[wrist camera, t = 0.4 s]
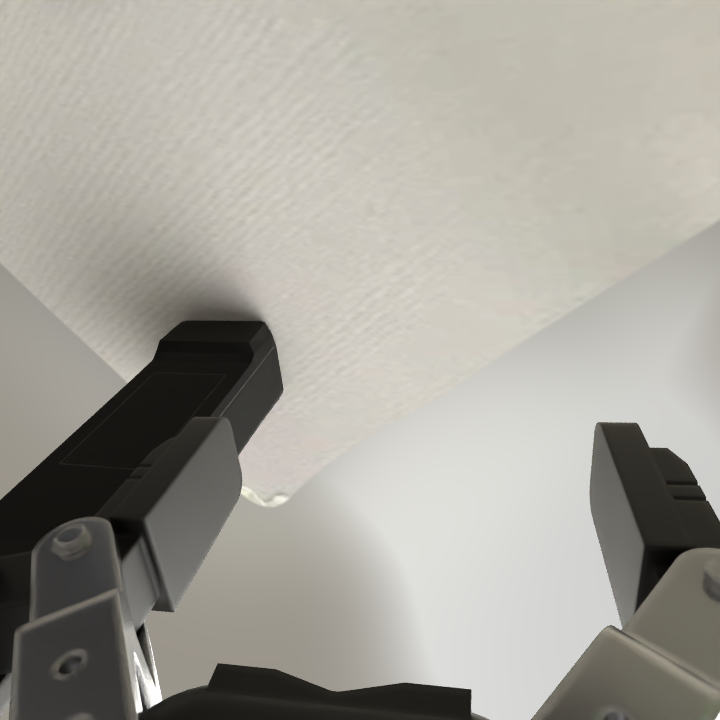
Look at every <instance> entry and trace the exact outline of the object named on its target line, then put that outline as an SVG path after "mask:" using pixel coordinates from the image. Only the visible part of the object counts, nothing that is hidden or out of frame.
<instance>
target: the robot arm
mask: <svg viewBox="0 0 720 720" xmlns="http://www.w3.org/2000/svg"><path fill="white" fill-rule="evenodd" d="M241 487H242V473H241V468H240V463H239V459H238V454H237V450H236V445H235V440H234V436H233V431H232V427H231V424H230V421H229V420H228V419H227V418H226V417H194V418H192V419H191V420H190V421H189V422H188V423H187V425H186V426H185V427H184V428H183V429H182V431H181V432H180V433H179V434H178V435H177V436H176V438H170V439H169V440H167V441H166V442H164V443H162V444H161V445H159V446H158V447H156V448H155V449H153V450H152V451H151V452H150V453H149V454H148V456H147V457H146V458H145V459H144V460H143V461H142V462H141V463H140V467H137V468H136V469H135V470H134V471H133V473H132V474H131V475H130V478H129V479H126V480H125V482H124V483H123V484H122V485H121V486H120V487H119V488H118V490H117V491H116V492H115V493H114V494H113V495H112V496H111V497H110V499H109V500H108V501H107V502H106V503H105V504H104V505H103V506H102V508H101V509H100V510H99V511H98V512H97V513H96V514H95V516H94V517H83V518H78V519H75V520H71V521H69V522H66V523H64V524H62V525H60V526H58V527H56V528H54V529H53V530H51V531H50V532H48V533H47V534H46V535H45V536H43V537H42V538H41V539H40V540H39V542H38V543H37V544H36V546H35V547H34V549H33V551H27V552H22V553H16V554H11V555H5V556H0V716H1V714H2V713H3V711H4V710H5V708H6V707H7V706H8V704H9V703H10V710H9V711H10V712H9V720H489V719H487V718H485V717H482V716H480V715H477V714H475V713H472V702H471V701H472V700H471V689H461V688H452V687H442V686H432V685H422V684H413V683H399V684H392V685H385V686H377V687H371V688H363V689H357V690H349V691H341V692H336V691H330V690H327V689H325V688H322V687H320V686H317V685H314V684H312V683H309V682H307V681H304V680H302V679H299V678H297V677H294V676H291V675H289V674H286V673H284V672H281V671H279V670H276V669H268V668H258V667H248V666H238V665H228V664H218V665H217V666H216V669H215V671H214V673H213V676H212V678H211V680H210V682H209V684H208V685H205V686H201V687H197V688H193V689H189V690H186V691H184V692H181V693H178V694H176V695H173V696H171V697H169V698H167V699H165V700H163V701H162V698H161V694H160V688H159V683H158V678H157V674H156V669H155V664H154V659H153V654H152V649H151V644H150V639H149V635H148V631H147V628H146V624H145V619H146V617H147V616H148V614H149V613H150V611H151V610H155V611H165V612H174V611H175V609H176V608H177V606H178V604H179V602H180V601H181V599H182V597H183V595H184V594H185V592H186V590H187V588H188V586H189V585H190V583H191V581H192V580H193V578H194V576H195V574H196V573H197V571H198V569H199V567H200V566H201V564H202V562H203V560H204V559H205V557H206V555H207V553H208V552H209V550H210V548H211V546H212V545H213V543H214V541H215V539H216V538H217V536H218V534H219V532H220V531H221V529H222V527H223V525H224V524H225V522H226V520H227V518H228V517H229V515H230V513H231V511H232V510H233V508H234V506H235V504H236V503H237V501H238V499H239V496H240V493H241ZM590 505H591V512H592V517H593V521H594V525H595V528H596V532H597V536H598V539H599V543H600V547H601V550H602V554H603V557H604V562H605V565H606V569H607V573H608V576H609V580H610V583H611V587H612V591H613V595H614V598H615V602H616V606H617V610H618V613H619V617H620V621H621V624H622V628H623V629H622V630H619V629H617V628H616V627H614V626H611V625H610V626H607V627H606V628H604V629H603V630H602V631H601V632H600V633H599V635H598V636H597V637H596V638H595V639H594V641H593V642H592V643H591V644H590V646H589V647H588V648H587V649H586V651H585V652H584V653H583V655H582V656H581V657H580V658H579V660H578V661H577V662H576V663H575V665H574V666H573V667H572V668H571V670H570V671H569V672H568V673H567V675H566V676H565V677H564V679H563V680H562V681H561V682H560V684H559V685H558V686H557V687H556V689H555V690H554V691H553V693H552V694H551V695H550V696H549V697H548V699H547V700H546V701H545V703H544V704H543V705H542V706H541V708H540V709H539V710H538V712H537V713H536V714H535V715H534V717H533V718H532V719H531V720H720V521H719V519H718V518H717V516H716V514H715V512H714V511H713V509H712V507H711V505H710V503H709V502H708V501H706V496H705V494H704V493H703V491H702V489H701V487H700V486H698V484H697V480H696V478H695V477H694V475H693V473H692V471H691V470H690V468H689V466H688V464H687V463H686V462H684V461H683V460H682V459H681V458H679V457H678V456H677V455H675V454H674V453H673V452H671V451H670V450H669V449H668V448H649V446H648V443H647V441H646V440H645V437H644V435H643V433H642V431H641V429H640V427H639V425H638V424H637V423H607V422H606V423H605V422H598V423H597V424H596V427H595V433H594V444H593V455H592V466H591V478H590Z"/></svg>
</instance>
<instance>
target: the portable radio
mask: <svg viewBox="0 0 720 720" xmlns="http://www.w3.org/2000/svg"><path fill="white" fill-rule="evenodd" d="M282 393H283V384H282V378H281V372H280V366H279V360H278V354H277V349H276V345H275V342H274V339H273V336H272V334H271V332H270V330H269V329H268V327H267V325H266V324H265V322H262V321H183V322H181V323H180V324H178V325H177V326H176V327H175V328H174V329H172V330H171V331H170V332H169V333H168V334H167V335H166V336H164V337H163V338H162V339H161V340H160V341H159V345H158V348H157V351H156V354H155V356H154V359H153V360H152V361H151V362H150V363H149V364H148V365H147V366H146V367H145V368H144V369H143V370H142V371H141V372H140V373H139V374H137V375H136V376H135V377H134V378H133V379H132V380H131V381H130V382H129V383H128V384H127V385H126V386H125V387H123V388H122V389H121V390H120V391H119V392H118V393H117V394H116V395H115V396H114V397H112V398H111V399H110V400H109V401H108V402H107V403H106V404H105V405H104V406H103V407H102V408H100V409H99V410H98V411H97V412H96V413H95V414H94V415H93V416H92V417H91V418H90V419H88V420H87V421H86V422H85V423H84V424H83V425H82V426H81V427H80V428H79V429H78V430H76V432H74V433H73V434H72V435H71V436H70V437H69V438H68V439H67V440H65V442H64V443H62V445H60V446H59V447H58V448H57V449H56V450H55V451H54V452H52V453H51V454H50V455H49V456H48V457H47V458H46V459H45V460H44V461H43V462H41V463H40V464H39V465H38V466H37V467H36V468H35V469H34V470H33V471H32V472H31V473H29V474H28V475H27V476H26V477H25V478H24V479H23V480H22V481H21V482H20V483H18V484H17V485H16V486H15V487H14V488H13V489H12V490H11V491H10V492H9V493H8V494H6V495H5V496H4V497H3V498H2V499H1V500H0V556H5V555H11V554H16V553H22V552H27V551H33V549H34V547H35V546H36V544H37V543H38V542H39V540H40V539H41V538H42V537H43V536H45V535H46V534H47V533H48V532H50V531H51V530H53V529H54V528H56V527H58V526H60V525H62V524H64V523H66V522H69V521H71V520H75V519H78V518H83V517H94V516H95V514H96V513H97V512H98V511H99V510H100V509H101V508H102V506H103V505H104V504H105V503H106V502H107V501H108V500H109V499H110V497H111V496H112V495H113V494H114V493H115V492H116V491H117V490H118V488H119V487H120V486H121V485H122V484H123V483H124V482H125V480H126V479H129V478H130V475H131V474H132V473H133V471H134V470H135V469H136V468H137V467H140V463H141V462H142V461H143V460H144V459H145V458H146V457H147V456H148V454H149V453H150V452H151V451H152V450H153V449H155V448H156V447H158V446H159V445H161V444H162V443H164V442H166V441H167V440H169V439H170V438H176V436H177V435H178V434H179V433H180V432H181V431H182V429H183V428H184V427H185V426H186V425H187V423H188V422H189V421H190V420H191V419H192V418H194V417H226V418H227V419H228V420H229V421H230V424H231V427H232V431H233V436H234V440H235V445H236V450H237V454H238V456H239V454H240V453H241V451H242V450H243V448H244V447H245V445H246V444H247V442H248V441H249V439H250V438H251V437H252V435H253V434H254V432H255V431H256V430H257V428H258V427H259V425H260V424H261V422H262V421H263V420H264V418H265V417H266V415H267V414H268V413H269V411H270V410H271V409H272V407H273V406H274V405H275V404H276V402H277V401H278V400H279V398H280V396H281V395H282Z"/></svg>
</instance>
